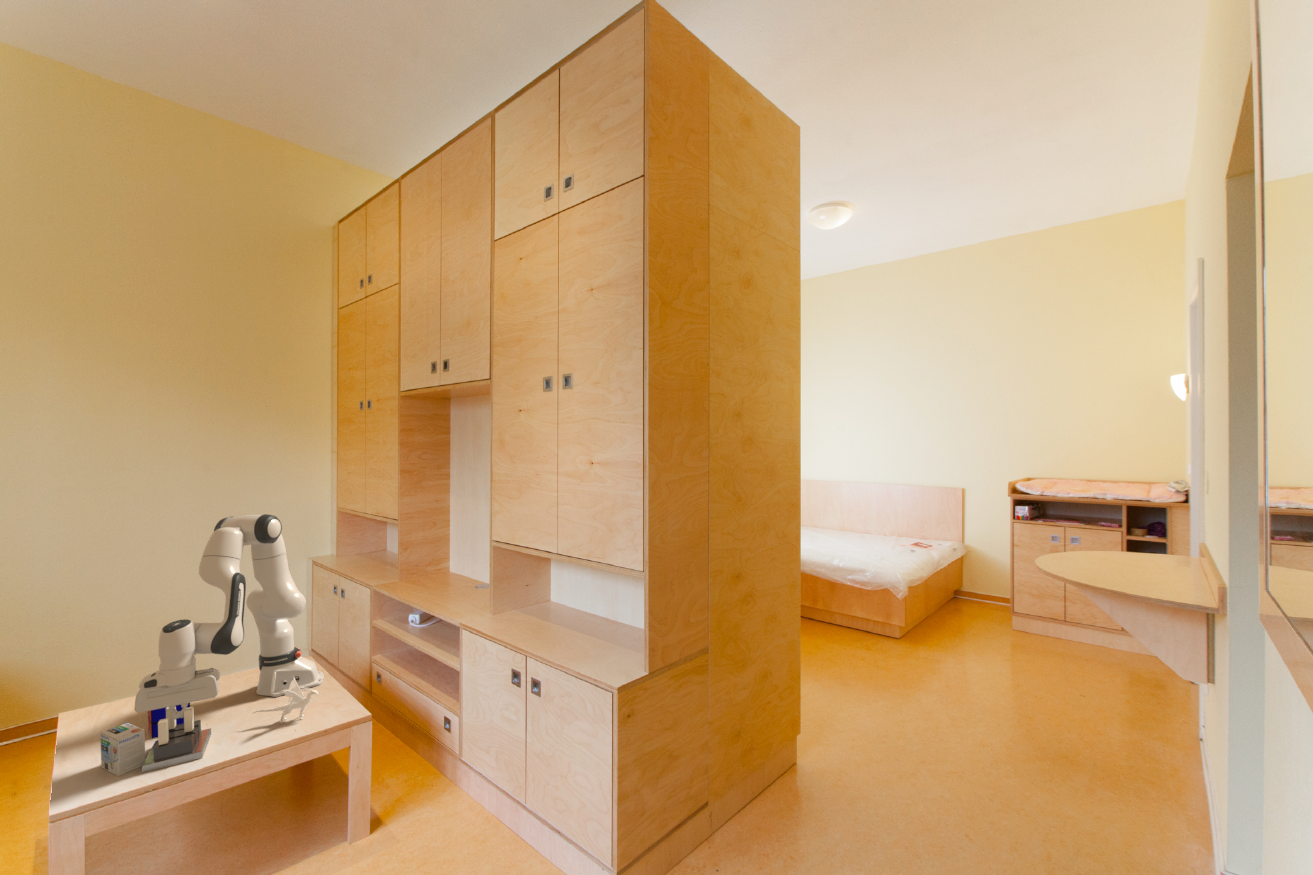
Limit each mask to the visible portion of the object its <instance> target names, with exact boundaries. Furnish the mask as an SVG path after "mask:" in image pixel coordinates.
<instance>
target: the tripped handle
mask: <svg viewBox="0 0 1313 875" xmlns="http://www.w3.org/2000/svg"><path fill="white" fill-rule="evenodd" d="M194 712H195V711H194V706H190V707H189V708H186V709H185V710H184V733H185V732H189V731H193V729H194V721H195V715H194V714H195V713H194Z"/></svg>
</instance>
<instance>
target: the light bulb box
mask: <svg viewBox="0 0 1313 875" xmlns="http://www.w3.org/2000/svg"><path fill="white" fill-rule="evenodd" d="M145 733H146V732H145V728H142V727H139V726H137V725H134V724H131V723H129V722H124V723H123V724H121V725H118V726H115V727H112V728H110V729H107V730H104V731H101V732H100V734H99V735H100V767H101V768H102V769H104V770H106V772H110V773H111V774H114V775H115V776H117V777H120V776H122V775H124V774H127V773H129V772H131V771H133V770H136V769H138V768H141V767H142V765H143V763H144V762H145V760H146V744H145V743H146V742H145V741H146V739H145V735H146V734H145Z"/></svg>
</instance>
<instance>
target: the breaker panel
mask: <svg viewBox="0 0 1313 875" xmlns="http://www.w3.org/2000/svg"><path fill="white" fill-rule="evenodd" d="M201 723H202V722H201V719H198V720H194V729H193V731H189V732H185V733H184V723H183V724H178V725H176V727H175V728H174V729H170V730H169V741H168V743H166V744H162V745H159V743H158V739H157V740H155V741H154V743H153V745H152V747H151V749H150V750H149V752H148V754H147V756H146V757H145V762H144V763H143V765H142V766H141V773H142V774H143V773H146V772H147V773H148V772H151V771H155V770H160V769H164V768H168V767H172V766H175V765H180V764H184V763H189V762H191V761H195V760H196V761H197V760H200V759H203V757H204V754H205V752H206V750H207V747H208V744H209V741H210V738H211V736H212V728H211V727H210V728H206V729H202V726H201Z"/></svg>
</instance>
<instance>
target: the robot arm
mask: <svg viewBox="0 0 1313 875" xmlns="http://www.w3.org/2000/svg"><path fill="white" fill-rule="evenodd" d="M213 528H214V529H213V533H211V535H210V537H209V539H208V541H207V543H206V545H205V547H204V550H203V553H202V556H201V558H200V562H199V566H198V575H199V577H200V578H201V579H202V581H204V582H205V583H206V584H208V585H210V586H213V587H215V588H217V589H220V590H221V591H222V592H223V593H224V595H225V604H224V612H223V620H222V621H221V622H194V621H192V619H191V620H190V619H178V620H175V621H171V622H169V623H167V624H166V625H164V626H163V627H162V628H161V630H160V633H159V639H158V658H159V659H160V663H159V666H158V670H157V671H154V672H152V673H150V674H147V675H146V676H144V677H143V678H142V679H141V681H140V682H139V684H138V688H139V689H138V691H137V693H136V695H135V698H134V711H135V712H136V713H144V712H146V713H147V712H148V711H151V710H156V709H161V708H166V707H169V711H170V712H171V713H172V714H174V720H175V719H179V718H183V717H184V710H185V709H186V707H187V705H188V703H190V704H191V703H194V702H200V701H205V700H210V699H215V698H216V697H217V696H218V695H219V693H220V682H219V679H220V677H221V674H220V671H219V669H217V668H214V667H210V668H206V669H200V670H197V662H196V661H197V658H196V655H198V654H199V655H206V654H207V655H209V654H210V655H212V654H214V655H224V656H225V655H226V656H227V655H230V654H232V653H233V652H235V651H236V650H237V649H238V648H239V647H240V646H241V645H242V643H243V642H244V640H245V639H244V637H245V629H244V628H245V627H244V616H245V604H246V607H247V609H248V610H249V611H250V612H251V614H252V616H253V618H254V622H255V625H256V627H257V631H258V635H259V649H260V650H259V651H260V652H259V655H258V668H259V678H258V683H257V688H256V691H255V693H256V694H257V695H258V696H264V697H265V696H268V697H269V696H270V697H273V698H277V697H280V696H283V695H284V696H285V692H286V690H289V687H290V684H291V682H292V680H293V679H294V678H295V680H296V682H297V684H298V686H299V688H300V689H304V688H301V687H305V688H309V689H311V688H313V687H317V686H319V685H320V684H322V683H323V682H324V680H325V675H324V672H323V671H321V670H318V667H317V665H316V663H315V662H314V661H313V660H311V659H308V658H307V657H303V656H302V652H301V648H300V647H295V629H294V628H293V625H292V624H291V623H290V622H289V620H288V619H293V618H294V619H295V618H297V617H298V616H300V615H301V614H302V613H303V612H304V610H305V608H306V605H307V600H306V597H305V596H304V594H303V593H302V592H300V590H299V589H298V587H297V584H296V583H295V581H294V579H293V577H292V575H291V572H290V568H289V561H288V556H287V555H288V554H287V549H286V543H285V540H284V537H283V534H282V530H283V525H282V522H281V520H280V519H279V518H278V517H277V516H276V515H273V514H267V513H266V514H246V515H245V514H244V515H237V516H235V515H233V516H231V515H230V516H228V517H224V518H221V519H220V520H219V521H217V523H216V525H215V526H214V527H213ZM244 546H250V554H251V555H250V556H251V561H252V568H253V575H254V578H255V580H256V581H257V582H258V584H259V585H260V587H258V588H255V589H253V590H252V591H251V592H250V593H249V594H248V596H247V598H246V590H247V584H246V583H247V581H246V580H247V579H246V577H245V575H244V574H242V573H241V561H242V559H243V558H242V557H243V551H244ZM176 705H181V707H183V709H182V710H181V711H178V712H177V710H176V709H175V707H176Z"/></svg>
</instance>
